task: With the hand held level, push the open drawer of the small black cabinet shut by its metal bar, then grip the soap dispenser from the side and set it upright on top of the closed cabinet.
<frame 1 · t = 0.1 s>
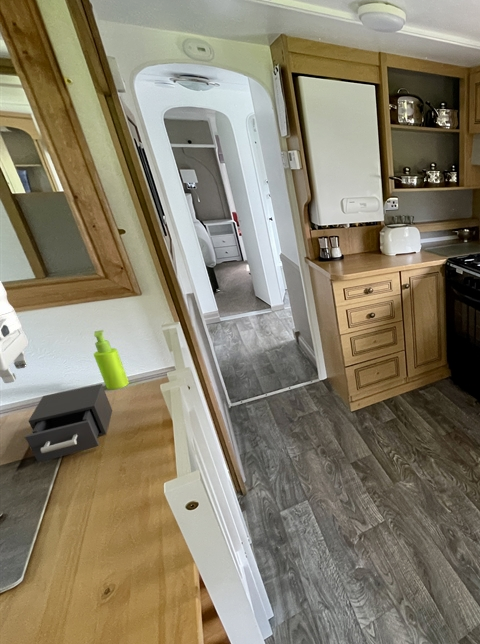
hand: (16, 374, 98), 20 cm above the table, tool pointing down, fingers open, 8 cm apart
drawer: (67, 432, 100), point 5 cm above the table, slide at 6.0 cm
soap dispenser: (118, 385, 133), on the table
cabinet: (80, 429, 109), on the table
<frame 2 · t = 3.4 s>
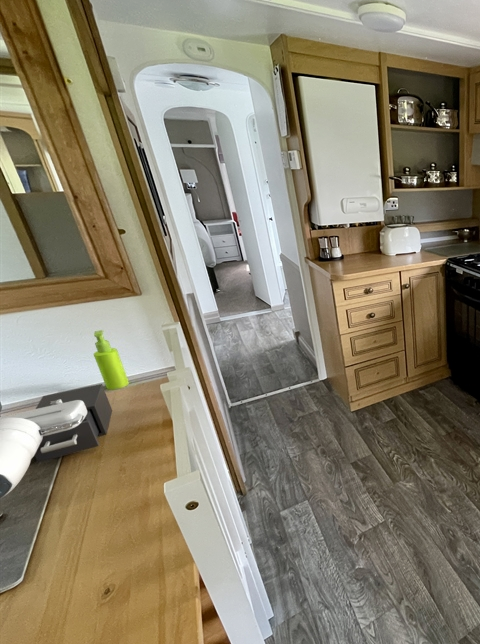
hand: (27, 409, 83), 20 cm above the table, tool horizontal, fingers open, 8 cm apart
nothing on the table moved.
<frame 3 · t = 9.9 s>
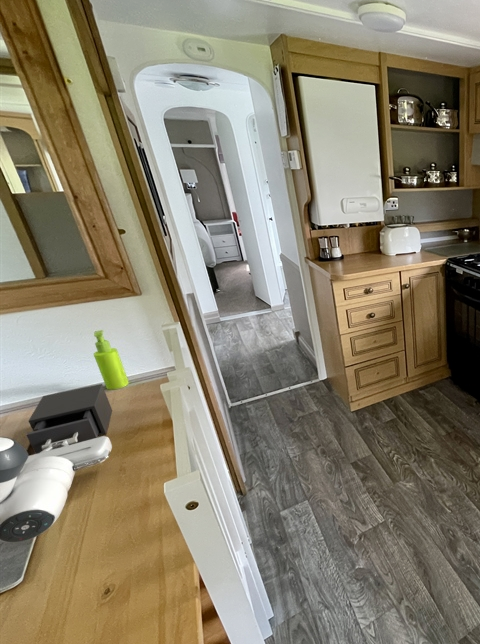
hand: (59, 444, 94), 6 cm above the table, tool horizontal, fingers closed, pressing on drawer
drawer: (68, 430, 101), point 5 cm above the table, slide at 4.9 cm, touching gripper
everything else where it was.
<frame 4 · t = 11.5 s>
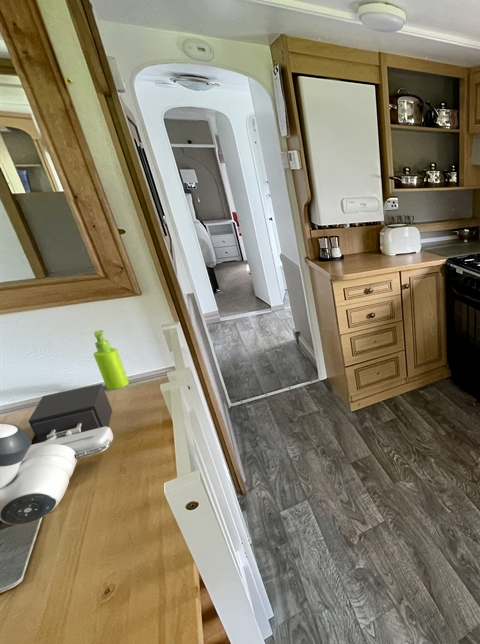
hand: (63, 434, 97), 6 cm above the table, tool horizontal, fingers closed, pressing on drawer
drawer: (71, 421, 104), point 5 cm above the table, slide at 0.0 cm, touching cabinet, gripper
everything else where it was.
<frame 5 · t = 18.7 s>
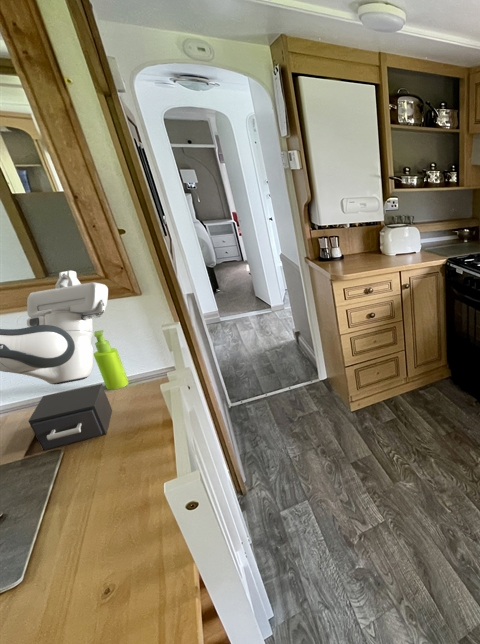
hand: (67, 271, 101), 44 cm above the table, tool pointing upward, fingers closed
drawer: (71, 421, 104), point 5 cm above the table, slide at 0.0 cm
everything else where it was.
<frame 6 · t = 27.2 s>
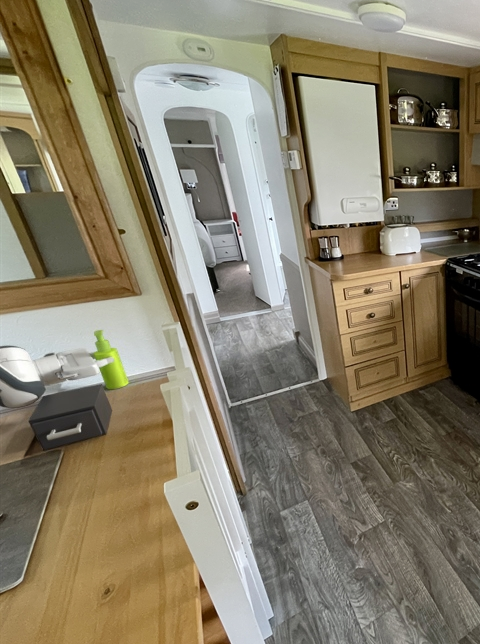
hand: (111, 355, 129), 11 cm above the table, tool horizontal, fingers closed on soap dispenser, 6 cm apart
soap dispenser: (118, 385, 133), on the table, touching gripper
everything else where it was.
when the fingers open (21 cm above the table, at t = 36.5 s): soap dispenser stays where it is, resting on cabinet.
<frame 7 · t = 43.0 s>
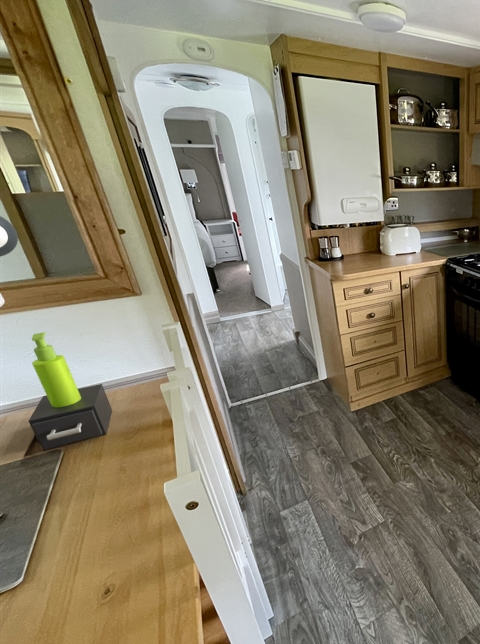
soap dispenser: (67, 401, 105), point 9 cm above the table, touching cabinet
everything else where it was.
at the end: drawer slide at 0.0 cm; soap dispenser inside the target area on the cabinet (0.2 cm from its centre), point 9.4 cm above the cabinet's base; soap dispenser tilted 0° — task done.
